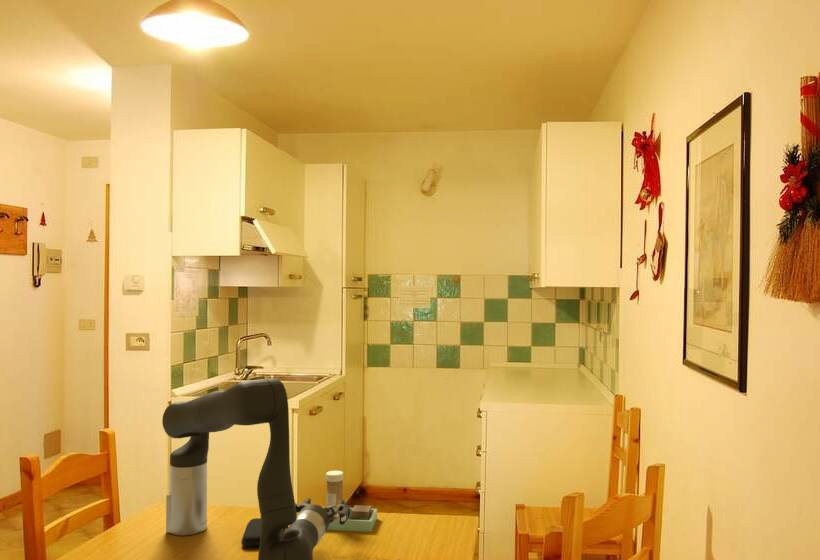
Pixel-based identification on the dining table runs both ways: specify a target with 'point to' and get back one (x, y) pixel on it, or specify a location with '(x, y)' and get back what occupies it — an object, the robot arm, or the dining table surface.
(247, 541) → the carrying case or bag
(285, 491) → the robot arm
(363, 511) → the copper block
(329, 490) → the sprinkles bottle
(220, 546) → the dining table surface
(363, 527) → the tray
